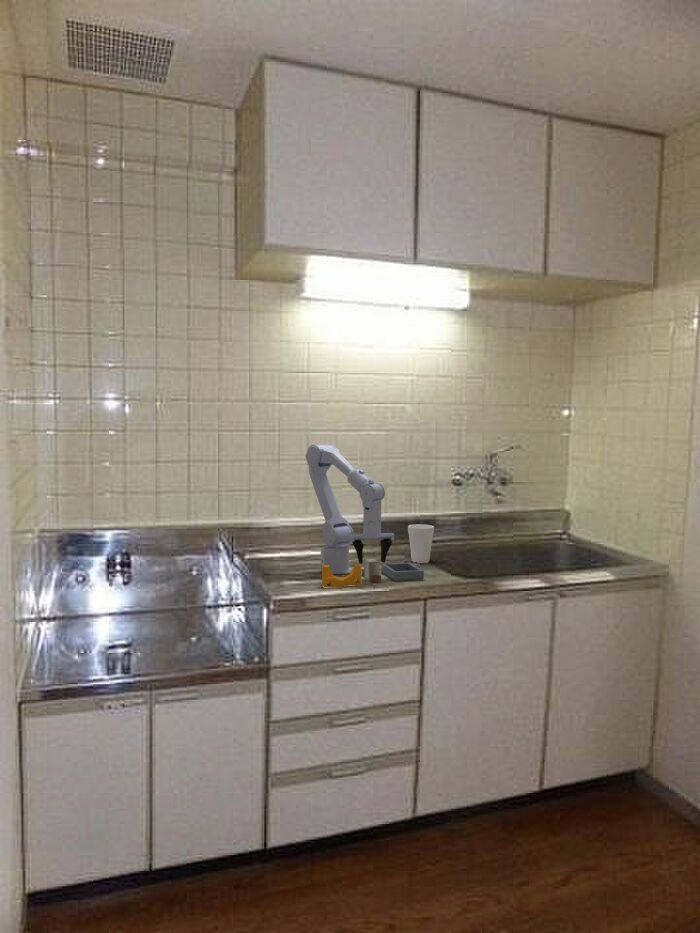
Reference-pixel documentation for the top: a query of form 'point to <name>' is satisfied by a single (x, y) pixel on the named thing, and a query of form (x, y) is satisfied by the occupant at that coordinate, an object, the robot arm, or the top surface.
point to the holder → (374, 577)
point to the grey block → (370, 568)
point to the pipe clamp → (334, 581)
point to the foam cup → (420, 542)
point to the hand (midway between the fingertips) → (371, 562)
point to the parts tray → (402, 571)
